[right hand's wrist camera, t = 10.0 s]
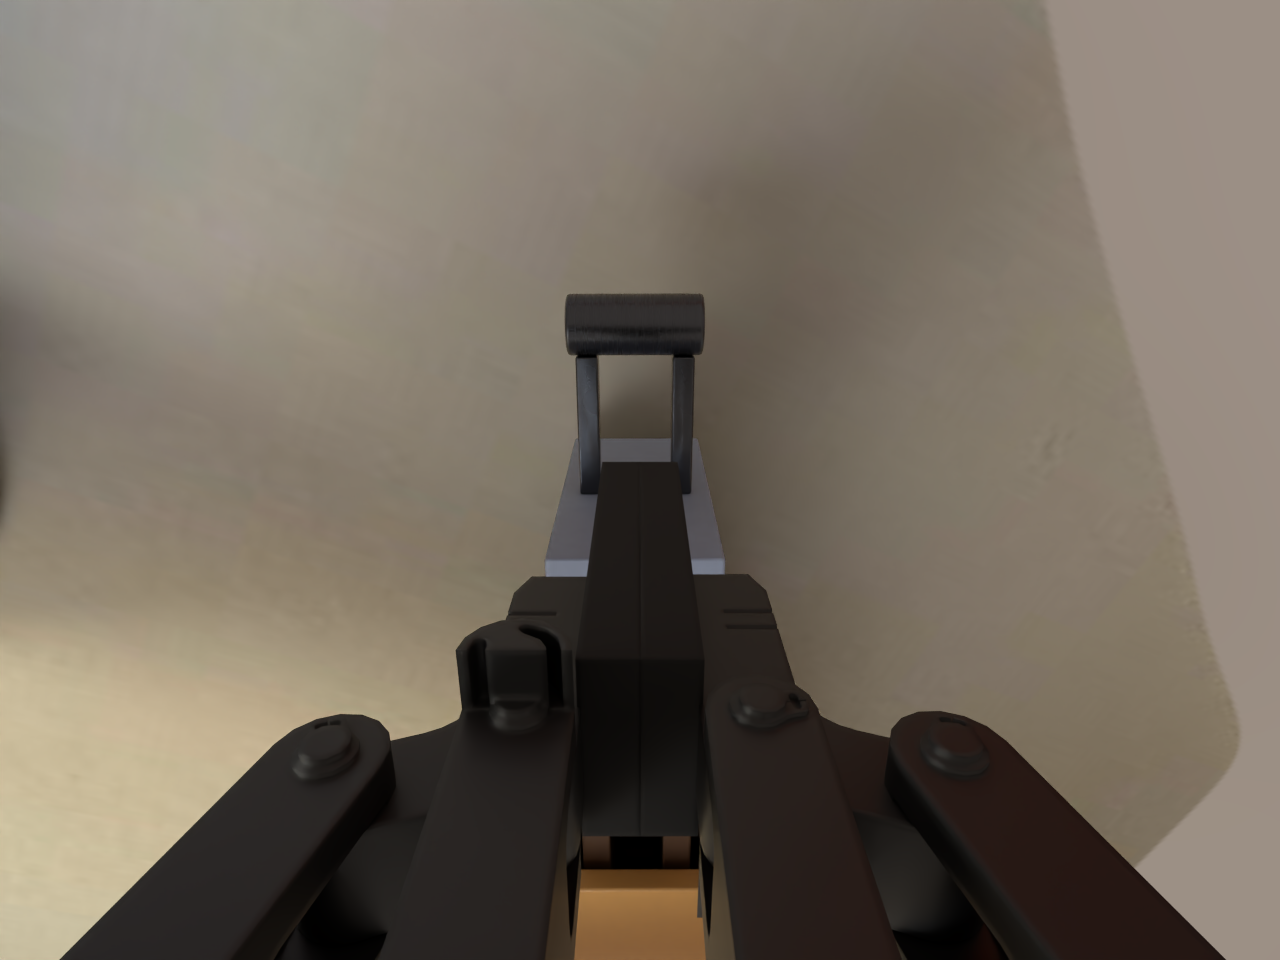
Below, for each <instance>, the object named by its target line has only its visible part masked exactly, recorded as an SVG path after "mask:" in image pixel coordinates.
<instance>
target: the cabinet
mask: <svg viewBox="0 0 1280 960" xmlns="http://www.w3.org/2000/svg"><path fill="white" fill-rule="evenodd" d="M580 855H581V883H580V895H579V907H578V919H577V932H576V944H575V956H574V960H706V955H705V943H704V931H703V918H697V904H698V879H699V855H700V834H699V823H698V836H691V849H690V869H584V864H583V840H582V827H581V838H580Z"/></svg>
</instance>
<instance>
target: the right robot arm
mask: <svg viewBox="0 0 1280 960" xmlns="http://www.w3.org/2000/svg"><path fill="white" fill-rule="evenodd" d="M456 657H457V667H458V676H459V685H460V694H461V703H462V712H461V715H460V718H459V719H458V720H457V721H455V722H452V723H450V724H448V725H446V726H444V727H442V728H439V729H436V730H433V731H430V732H426V733H423V734H419V735H414V736H410V737H405V738H401V739H397V740H392V741H390V736H389V732H388V731H387V730H386V728H385V727H384V726H383V725H382V724H381V723H380V722H379V721H378V720H375V719H372V718H369V717H367V716H364V715H352V714H339V715H334V716H329V717H325V718H320V719H316V720H314V721H312V722H309V723H307V724H305V725H303V726H300V727H298V728H296V729H294V730H292V731H291V732H290V733H288V734H287V735H286V736H284V737H283V738H282V739H281V740H279V741H278V742H277V743H275V744H274V745H273V746H272V747H271V748H270V749H269V750H268V751H267V752H266V753H265V754H264V755H263V756H262V757H261V758H260V759H259V760H258V761H257V762H256V763H255V764H254V765H253V766H252V767H251V768H250V769H249V770H248V771H247V772H246V773H245V774H244V775H243V776H242V777H241V778H240V779H239V780H238V781H237V782H236V783H235V784H234V785H233V786H232V787H231V788H230V789H229V790H228V791H227V792H226V793H225V794H224V795H223V796H222V797H221V798H220V799H219V800H218V801H217V802H216V803H215V804H214V805H213V806H212V807H211V808H210V809H209V810H208V811H207V812H206V813H205V814H204V815H203V816H202V817H201V818H200V819H199V820H198V821H197V822H196V823H195V824H194V825H193V826H192V827H191V828H190V829H189V830H188V831H187V832H186V833H185V834H184V835H183V836H182V837H181V838H180V839H179V840H178V841H177V842H176V843H175V844H174V845H173V846H172V847H171V848H170V849H169V850H168V851H167V852H166V853H165V854H164V855H163V856H162V857H161V858H160V859H159V860H158V861H157V862H156V863H155V864H154V865H153V866H152V867H151V868H150V869H149V870H148V871H147V872H146V873H145V874H144V875H143V876H142V877H141V879H140V880H139V881H138V882H137V883H136V884H135V885H134V886H133V887H132V888H131V889H130V890H129V891H128V892H127V893H126V894H125V895H124V896H123V897H122V898H121V899H120V900H119V901H118V902H117V903H116V904H115V905H114V906H113V907H112V908H111V909H110V910H109V911H108V912H107V913H106V914H105V915H104V916H103V917H102V918H101V919H100V920H99V921H98V922H97V923H96V924H95V925H94V926H93V927H92V928H91V929H90V930H89V931H88V932H87V933H86V934H85V935H84V936H83V937H82V938H81V939H80V940H79V941H78V942H77V943H76V944H75V945H74V946H73V947H72V948H71V949H70V950H69V951H68V952H67V953H66V954H65V955H64V956H63V957H62V958H61V959H60V960H574V956H575V944H576V932H577V919H578V907H579V895H580V883H581V855H580V838H581V827H582V836H698V823H699V834H700V855H699V879H698V904H697V918H703V931H704V943H705V955H706V960H1226V959H1225V958H1224V957H1223V956H1222V955H1221V954H1220V953H1219V952H1218V951H1217V950H1216V949H1215V948H1214V947H1213V946H1212V945H1211V944H1210V943H1209V942H1208V941H1207V940H1206V939H1205V938H1204V937H1203V936H1202V935H1201V934H1200V933H1199V932H1198V931H1197V930H1196V929H1195V928H1194V927H1193V926H1192V925H1190V923H1189V922H1188V921H1186V920H1185V918H1184V917H1182V915H1181V914H1180V913H1178V912H1177V911H1176V910H1175V909H1174V908H1173V907H1172V906H1171V905H1170V904H1169V903H1168V902H1167V901H1166V900H1165V899H1164V898H1163V897H1162V896H1161V895H1160V894H1159V893H1158V892H1157V891H1156V890H1155V889H1154V888H1153V887H1152V886H1151V885H1150V884H1149V883H1148V882H1147V881H1146V880H1145V879H1144V878H1143V877H1142V876H1141V875H1140V874H1139V873H1138V872H1137V871H1136V870H1135V869H1134V868H1133V867H1132V866H1131V865H1130V864H1129V863H1128V862H1127V861H1126V860H1125V859H1124V858H1123V857H1122V856H1121V855H1120V854H1119V853H1118V852H1117V851H1116V850H1115V849H1114V848H1113V847H1112V846H1111V845H1110V844H1109V843H1108V842H1107V841H1106V840H1105V839H1104V838H1103V837H1102V836H1101V835H1100V834H1099V833H1098V832H1097V831H1096V830H1095V829H1094V828H1093V827H1092V826H1091V825H1090V824H1089V823H1088V822H1087V821H1086V820H1085V819H1084V818H1083V817H1082V816H1081V815H1080V814H1079V813H1078V812H1077V811H1076V810H1075V809H1074V808H1073V807H1072V806H1071V805H1070V804H1069V803H1068V802H1067V801H1066V800H1065V799H1064V798H1063V797H1062V796H1061V795H1060V794H1059V793H1058V792H1057V791H1056V790H1055V789H1054V788H1053V787H1052V786H1051V785H1050V784H1049V783H1048V782H1047V781H1046V780H1045V779H1044V778H1043V777H1042V776H1041V775H1040V774H1039V773H1038V772H1037V771H1036V770H1035V769H1034V768H1033V767H1032V766H1031V765H1030V764H1029V763H1028V762H1027V761H1026V760H1025V759H1024V758H1023V757H1022V756H1021V755H1020V754H1019V753H1018V752H1017V751H1016V750H1015V749H1014V748H1013V747H1012V746H1011V745H1010V744H1009V743H1008V742H1007V741H1006V740H1004V739H1003V738H1002V737H1000V736H999V735H998V734H996V733H995V732H994V731H992V730H991V729H990V728H989V727H987V726H985V725H983V724H980V723H978V722H976V721H974V720H972V719H969V718H967V717H965V716H961V715H956V714H952V713H947V712H942V711H926V712H916V713H914V714H911V715H908V716H905V717H903V718H901V719H900V720H899V721H898V722H897V724H896V725H895V726H894V727H893V728H892V730H891V736H890V738H888V737H883V736H879V735H874V734H870V733H866V732H861V731H857V730H853V729H850V728H847V727H844V726H840V725H838V724H836V723H834V722H832V721H830V720H827V719H825V718H823V717H822V716H821V715H820V714H819V711H818V708H817V707H816V705H815V703H814V702H813V700H812V699H811V697H810V696H809V694H807V693H806V692H804V691H803V690H802V689H800V688H799V687H798V686H796V685H795V682H794V679H793V676H792V673H791V669H790V666H789V663H788V660H787V657H786V653H785V650H784V647H783V644H782V640H781V637H780V634H779V631H778V629H777V624H776V621H775V618H774V615H773V613H772V608H771V605H770V602H769V599H768V595H767V592H766V590H765V589H764V588H763V587H762V586H760V585H759V584H758V583H757V582H756V581H755V580H754V579H753V578H752V577H751V576H750V575H748V574H693V570H692V562H691V555H690V548H689V540H688V533H687V526H686V518H685V511H684V504H683V496H682V489H681V482H680V474H679V467H678V462H602V467H601V474H600V482H599V489H598V496H597V504H596V511H595V518H594V526H593V533H592V540H591V548H590V555H589V562H588V570H587V577H531V578H530V579H529V580H528V581H527V582H525V583H524V584H523V585H522V586H521V587H520V588H519V589H518V590H517V591H516V592H515V593H514V595H513V598H512V601H511V605H510V608H509V611H508V616H507V618H506V620H503V621H499V622H496V623H492V624H489V625H486V626H483V627H481V628H479V629H478V630H476V631H474V632H473V633H471V634H470V635H468V636H467V637H465V638H464V640H463V641H462V642H461V644H460V645H459V646H458V648H457V649H456Z"/></svg>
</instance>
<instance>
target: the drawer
mask: <svg viewBox="0 0 1280 960" xmlns="http://www.w3.org/2000/svg"><path fill="white" fill-rule="evenodd" d="M704 334H705V306H704V298H703V295H702V294H569V295H567V297H566V302H565V338H566V347H567V351H568V354H569V355H577V356H576V387H577V416H578V439H576V440H575V443H574V447H573V451H572V455H571V459H570V463H569V467H568V471H567V475H566V479H565V483H564V487H563V491H562V494H561V498H560V502H559V506H558V510H557V514H556V518H555V522H554V526H553V530H552V534H551V538H550V542H549V546H548V550H547V554H546V557H545V575H546V577H587V570H588V562H589V555H590V548H591V540H592V533H593V526H594V518H595V511H596V504H597V496H598V489H599V482H600V474H601V467H602V462H678V467H679V474H680V482H681V489H682V496H683V504H684V511H685V518H686V526H687V533H688V540H689V548H690V555H691V562H692V570H693V574H725V557H724V552H723V548H722V543H721V539H720V535H719V530H718V526H717V521H716V517H715V513H714V508H713V504H712V500H711V495H710V491H709V486H708V482H707V478H706V473H705V469H704V464H703V460H702V456H701V451H700V447H699V443H698V439H696V438H693V410H694V370H695V358H694V355H700V354H702V352H703V347H704ZM599 355H672V373H671V438H603V439H601V428H600V386H599ZM582 840H583V864H584V869H690V849H691V836H582Z"/></svg>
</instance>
